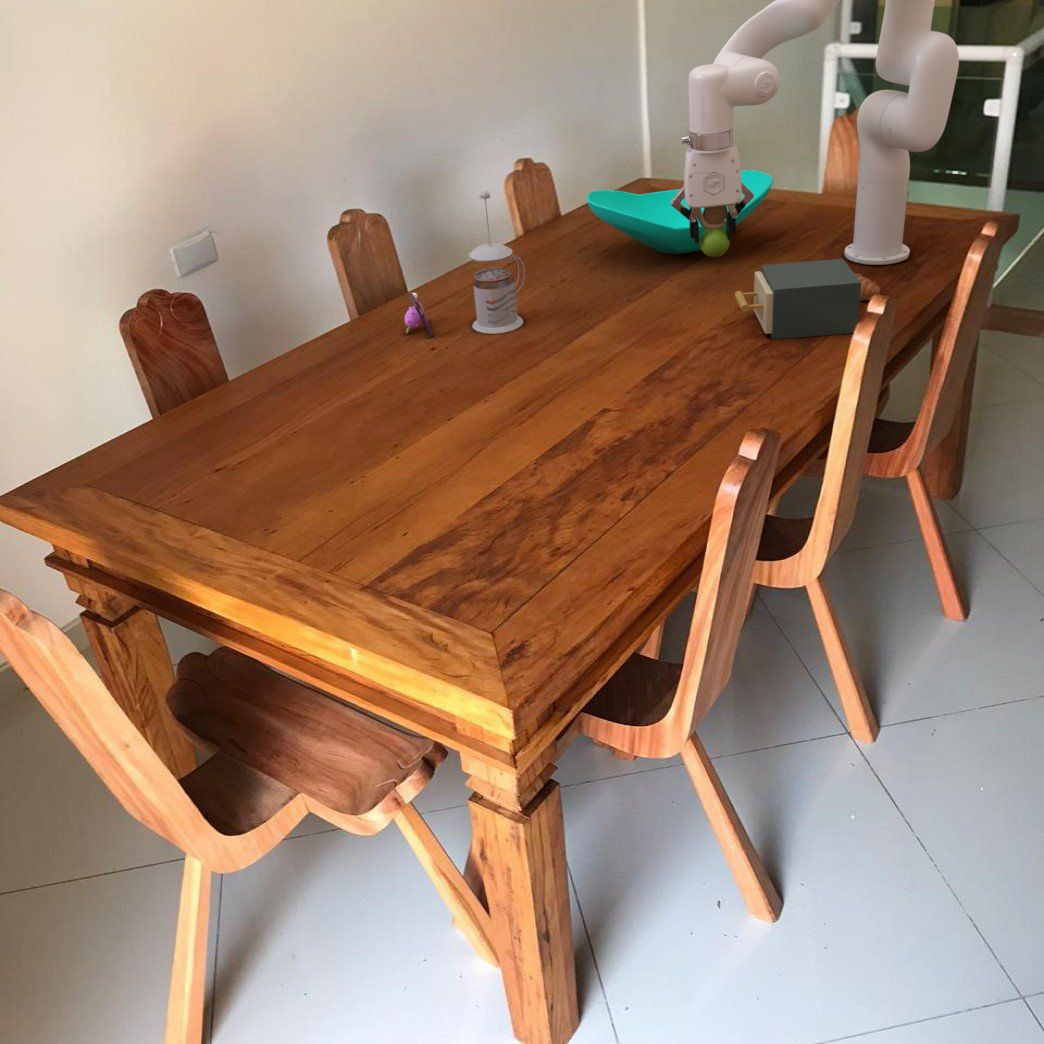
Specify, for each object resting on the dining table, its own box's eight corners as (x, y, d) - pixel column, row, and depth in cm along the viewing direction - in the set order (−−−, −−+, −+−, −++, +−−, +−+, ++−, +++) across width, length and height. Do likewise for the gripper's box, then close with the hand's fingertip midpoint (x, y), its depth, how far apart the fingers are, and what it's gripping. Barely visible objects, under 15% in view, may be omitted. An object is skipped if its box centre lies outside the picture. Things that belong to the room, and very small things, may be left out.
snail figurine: (692, 254, 209) (690, 191, 203) (726, 249, 209) (724, 186, 203) (698, 263, 204) (696, 199, 198) (732, 258, 204) (731, 194, 198)
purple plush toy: (420, 304, 202) (414, 288, 209) (395, 317, 202) (390, 301, 210) (436, 335, 205) (430, 318, 213) (412, 347, 206) (406, 330, 213)
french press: (462, 324, 210) (446, 193, 197) (510, 307, 215) (498, 178, 202) (491, 337, 203) (477, 202, 190) (541, 319, 208) (530, 187, 195)
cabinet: (772, 339, 191) (774, 289, 187) (759, 313, 202) (760, 265, 197) (857, 332, 191) (861, 282, 186) (839, 306, 202) (842, 258, 197)
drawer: (742, 335, 192) (743, 295, 188) (732, 311, 201) (732, 273, 198) (843, 327, 191) (846, 287, 187) (827, 304, 201) (830, 265, 197)
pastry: (886, 294, 205) (888, 274, 203) (867, 306, 201) (869, 286, 199) (842, 285, 211) (843, 265, 209) (822, 296, 207) (823, 276, 205)
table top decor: (745, 219, 250) (746, 159, 243) (793, 255, 227) (796, 190, 220) (575, 243, 246) (572, 183, 239) (606, 282, 222) (603, 217, 215)
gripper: (665, 150, 193) (668, 250, 202) (763, 139, 192) (762, 241, 201) (660, 140, 199) (664, 237, 209) (756, 129, 198) (755, 228, 208)
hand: (712, 238), depth 205 cm, fingers closed on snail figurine, 5 cm apart
